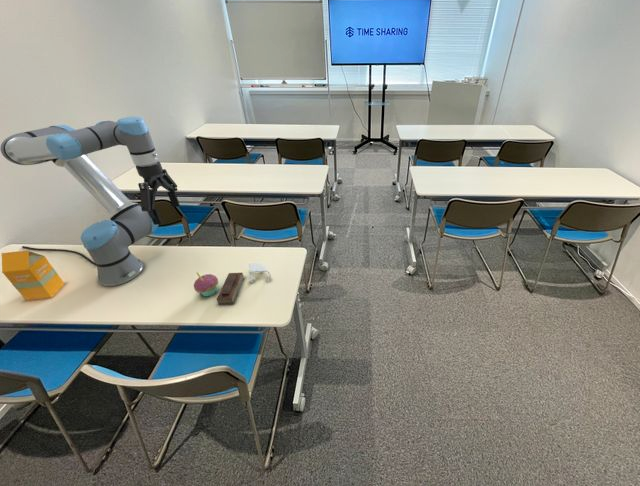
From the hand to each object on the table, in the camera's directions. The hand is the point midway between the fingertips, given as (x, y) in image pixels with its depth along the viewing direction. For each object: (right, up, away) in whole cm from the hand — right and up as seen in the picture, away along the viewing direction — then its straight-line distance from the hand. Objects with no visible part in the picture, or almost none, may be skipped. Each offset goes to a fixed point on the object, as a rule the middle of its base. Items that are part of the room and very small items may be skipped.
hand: (167, 214), depth 115 cm
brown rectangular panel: (+25, -30, 0) cm, 39 cm away
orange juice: (-49, -31, +1) cm, 58 cm away
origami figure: (+34, -26, +7) cm, 44 cm away
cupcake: (+16, -30, 0) cm, 35 cm away
